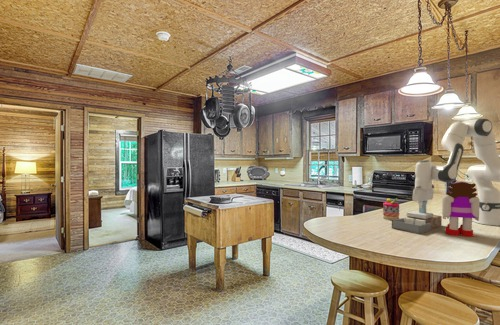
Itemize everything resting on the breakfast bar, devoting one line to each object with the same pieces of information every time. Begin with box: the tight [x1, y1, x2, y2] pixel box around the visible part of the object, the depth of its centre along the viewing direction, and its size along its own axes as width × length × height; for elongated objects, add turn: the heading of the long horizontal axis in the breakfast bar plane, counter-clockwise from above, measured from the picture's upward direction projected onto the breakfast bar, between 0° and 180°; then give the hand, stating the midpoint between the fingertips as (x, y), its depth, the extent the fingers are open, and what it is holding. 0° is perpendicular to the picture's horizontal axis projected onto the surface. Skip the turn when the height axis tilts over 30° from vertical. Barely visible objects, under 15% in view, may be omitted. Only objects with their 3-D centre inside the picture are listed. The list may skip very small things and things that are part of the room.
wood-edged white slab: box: [406, 214, 443, 229], centre depth 176 cm, size 20×12×6 cm, turn 125°
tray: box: [391, 217, 432, 235], centre depth 166 cm, size 14×16×5 cm
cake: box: [382, 197, 400, 221], centre depth 197 cm, size 10×11×15 cm
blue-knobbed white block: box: [406, 201, 434, 219], centre depth 173 cm, size 10×11×9 cm
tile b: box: [404, 216, 415, 225], centre depth 171 cm, size 5×5×2 cm
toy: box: [441, 181, 480, 238], centre depth 155 cm, size 18×9×30 cm, turn 74°
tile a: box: [415, 219, 426, 225], centre depth 166 cm, size 5×5×2 cm
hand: (422, 207), depth 175 cm, fingers closed on blue-knobbed white block, 3 cm apart
